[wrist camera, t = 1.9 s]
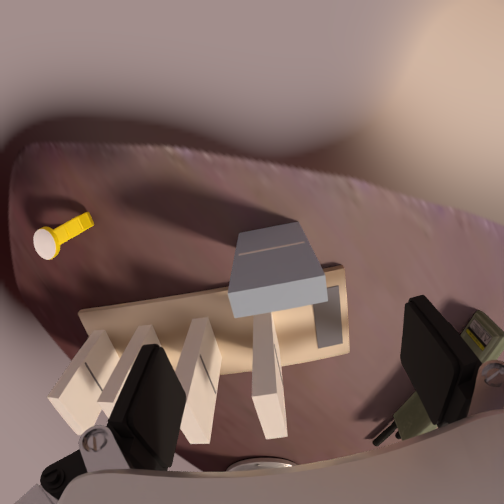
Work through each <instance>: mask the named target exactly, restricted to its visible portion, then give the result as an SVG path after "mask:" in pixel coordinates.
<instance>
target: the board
mask: <svg viewBox="0 0 504 504" xmlns="http://www.w3.org/2000/svg"><path fill="white" fill-rule="evenodd" d="M323 271H324V273H325V277H326V286H327V295H328V301H327V302H322V303H317V304H312V305H307V306H302V307H296V308H291V309H286V310H280V311H275V312H272V316H273V320H274V325H275V330H276V335H277V339H278V344H279V349H280V359H281V366H287V365H292V364H298V363H303V362H309V361H314V360H319V359H323V358H328V357H333V356H337V355H342V354H346V353H349V327H348V309H347V294H346V281H345V269H344V267H343V265H339V266H334V267H329V268H324V269H323ZM228 288H229V286H228V287H223V288H217V289H211V290H205V291H199V292H193V293H187V294H181V295H175V296H169V297H162V298H156V299H150V300H143V301H137V302H130V303H123V304H116V305H110V306H103V307H95V308H88V309H81V310H80V311H79V312H78V315H79V318H80V320H81V322H82V324H83V326H84V328H85V330H86V332H87V334H88V336H89V337H90V335H91V334H92V333H93V331H94V330H105V331H106V333H107V335H108V337H109V339H110V341H111V343H112V345H113V347H114V349H115V351H116V352H117V354H118V356H119V358H121V356H122V354H123V352H124V351H125V349H126V347H127V345H128V343H129V342H130V340H131V338H132V336H133V335H134V333H135V331H136V329H137V328H138V326H142V325H150V324H152V325H153V328H154V330H155V332H156V335H157V337H158V339H159V342H160V344H161V346H162V347H163V348H164V350H165V352H166V354H167V357H168V359H169V361H170V363H171V365H172V367H173V369H174V371H175V370H176V367H177V364H178V361H179V358H180V355H181V352H182V349H183V346H184V342H185V339H186V336H187V333H188V330H189V328H190V325H191V322H192V319H196V318H203V317H208V318H209V321H210V324H211V327H212V330H213V333H214V336H215V339H216V342H217V345H218V348H219V351H220V353H221V356H222V361H221V368H220V375H223V374H232V373H240V372H247V371H252V363H253V315H252V316H246V317H239V318H234V315H233V311H232V308H231V304H230V300H229V297H228Z"/></svg>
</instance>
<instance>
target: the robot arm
mask: <svg viewBox="0 0 504 504" xmlns="http://www.w3.org/2000/svg"><path fill="white" fill-rule="evenodd" d="M400 358H401V363H402V365H403V367H404V369H405V371H406V372H407V374H408V376H409V378H410V380H411V382H412V384H413V386H414V388H415V390H416V392H417V394H418V396H419V398H420V400H421V402H422V404H423V406H424V408H425V410H426V412H427V414H428V416H429V418H430V420H431V422H432V424H433V425H436V424H437V426H438V429H435V430H432V431H430V432H427V433H424V434H421V435H418V436H415V437H412V438H409V439H406V440H403V441H400V442H397V443H394V444H391V445H388V446H384V447H381V448H377V449H374V450H370V451H366V452H362V453H358V454H354V455H350V456H345V457H341V458H336V459H331V460H326V461H321V462H315V463H309V464H303V465H297V464H295V463H293V462H291V461H288V460H284V459H279V458H252V459H246V460H242V461H239V462H236V463H234V464H232V465H231V466H229V467H228V468H227V470H226V472H178V471H167V469H168V467H171V466H172V462H173V457H174V453H175V448H176V444H177V439H178V435H179V430H180V426H181V422H182V417H183V413H184V409H185V404H186V393H185V391H184V389H183V387H182V385H181V383H180V381H179V379H178V377H177V375H176V373H175V371H174V369H173V367H172V365H171V363H170V361H169V359H168V357H167V354H166V352H165V350H164V348H163V347H160V346H159V345H158V344H146V345H143V346H142V347H141V349H140V351H139V353H138V356H137V358H136V360H135V362H134V364H133V366H132V368H131V370H130V372H129V375H128V377H127V379H126V381H125V383H124V386H123V388H122V390H121V392H120V394H119V397H118V399H117V401H116V403H115V406H114V408H113V410H112V412H111V415H110V417H109V419H108V424H107V426H102V425H97V426H93V427H90V428H89V429H87V430H86V431H85V432H84V433H83V434H82V435H81V437H80V440H79V450H77V451H75V452H74V453H72V454H70V455H68V456H67V457H64V458H63V459H61V460H59V461H57V462H55V463H53V464H51V465H49V466H48V467H47V468H45V470H44V471H43V472H42V475H41V479H40V482H41V485H40V486H39V485H38V484H36V485H35V486H33V487H32V488H31V489H30V490H29V491H28V492H27V493H26V494H25V495H24V496H22V497H21V498H20V499H19V500H18V501H17V502H16V503H15V504H504V362H503V361H500V360H489V361H486V362H485V363H483V364H482V362H481V361H480V360H479V358H478V357H477V356H476V355H475V353H474V352H473V351H472V349H471V348H470V347H469V346H468V344H467V343H466V342H465V341H464V339H463V338H462V337H461V336H460V335H459V333H458V332H457V331H456V330H455V329H454V327H453V326H452V325H451V324H450V323H449V322H447V321H446V320H445V318H444V317H443V316H442V315H441V314H440V313H439V311H438V310H437V309H436V308H435V307H434V306H433V305H432V303H431V302H430V301H429V300H428V299H427V298H426V297H425V296H424V295H420V296H416V297H413V298H410V299H409V301H408V303H406V304H405V311H404V324H403V336H402V345H401V354H400Z"/></svg>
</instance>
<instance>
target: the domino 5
mask: <svg viewBox="0 0 504 504" xmlns="http://www.w3.org/2000/svg"><path fill="white" fill-rule="evenodd" d="M252 399H253V402H254V405H255V408H256V411H257V414H258V417H259V420H260V423H261V426H262V429H263V432H264V434H265V437H266V439H273V438H280V437H287V424H286V413H285V402H284V391H283V380H282V370H281V359H280V349H279V344H278V339H277V335H276V330H275V325H274V320H273V316H272V312H269V313H263V314H258V315H253V363H252Z"/></svg>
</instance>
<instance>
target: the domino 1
mask: <svg viewBox="0 0 504 504" xmlns="http://www.w3.org/2000/svg"><path fill="white" fill-rule="evenodd" d="M119 360H120V358H119V356H118V354H117V352H116V351H115V349H114V347H113V345H112V343H111V341H110V339H109V337H108V335H107V333H106V331H105V330H94V331H93V333H92V334H91V335H90V337H89V338H88V339H87V341H86V342H85V343H84V345H83V346H82V347H81V349H80V350H79V352H78V353H77V354H76V356H75V357H74V358H73V360H72V361H71V363H70V364H69V366H68V367H67V369H66V370H65V371H64V373H63V374H62V376H61V377H60V379H59V380H58V381H57V383H56V384H55V386H54V387H53V389H52V390H51V392H50V393H49V395H48V397H47V398H48V399H49V400H50V402H51V403H52V405H53V406H54V407H55V409H56V410H57V411H58V412H59V414H60V415H61V416H62V418H63V419H64V420H65V421H66V423H67V424H68V425H69V426H70V427H71V429H72V430H73V431H74V432H75V433H76V434H77V435H82V434H83V433H84V432H85V431H86V430H87V429H89V428H90V427H93V426H94V424H95V422H96V420H97V418H98V416H99V414H100V412H101V410H102V408H101V407H100V406H99V404H98V403H97V400H98V399H99V397H100V395H101V393H102V391H103V389H104V387H105V385H106V383H107V382H108V380H109V378H110V376H111V374H112V372H113V370H114V369H115V367H116V365H117V363H118V361H119Z"/></svg>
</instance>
